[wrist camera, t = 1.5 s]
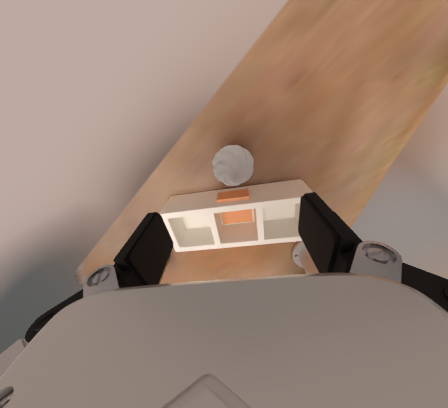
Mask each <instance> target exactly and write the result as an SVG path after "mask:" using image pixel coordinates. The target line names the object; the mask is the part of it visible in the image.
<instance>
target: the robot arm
mask: <svg viewBox="0 0 448 408" xmlns="http://www.w3.org/2000/svg"><path fill="white" fill-rule="evenodd" d="M298 233H299V235H300V237H301V239H302V241H298V242H297V243H296V244H295V246H294V247H293V249H292V253H291V255H292V259H293V261H294V263H295V264H296V265H297V266H299V267H301V268H303V269H304V271H305V273H306V274H292V275H278V276H263V277H248V278H235V279H221V280H207V281H194V282H181V283H169V284H159V282H160V279H161V277H162V274H163V271H164V269H165V266H166V264H167V261H168V259H169V256H170V253H171V251H172V248H173V241H172V239H171V236H170V234H169V232H168V230H167V227H166V225H165V223H164V221H163V218H162V216H161V215H160V214H158V213H157V212H153V213H148V214H147V215H146V216H145V218H144V219H143V220H142V222H141V223H140V224H139V226H138V227H137V229H136V230H135V231H134V233H133V234H132V235H131V237H130V238H129V239H128V241H127V242H126V244H125V245H124V246H123V248H122V249H121V250H120V252H119V253H118V254H117V256H116V257H115V259H114V260H113V261H114V262H115V264H114V265H104V266H102V267H99V268H98V269H96V270H94V271H93V272H92V273H91V274H90V275H89V276H88V277H87V278H86V280H85V281H84V285H83V289H82V290H81V291H79V292H77V293H76V294H74V295H73V296H71V297H69V298H68V299H67V300H65V301H63V302H61V303H60V304H59V305H57V306H55V307H54V308H52V309H51V310H49V311H47V312H46V313H44V314H43V315H41V316H40V317H39V318H37V320H35V322H34V323H33V324H32V325H31V327H30V328H29V329H28V331H27V332H26V335H25V339H24V340H22V339H19V340H18V341H16V342H15V343H14V344H13V345H11V346H10V347H9V348H8V349H7V350H5V351H4V352H3V353H2V354H0V408H448V279H445V278H442V277H440V276H437V275H434V274H432V273H429V272H426V271H424V270H421V269H418V268H416V267H413V266H410V265H408V264H405V263H402V259H401V256H400V255H399V253H398V252H397V251H396V250H394V249H393V248H391V247H389V246H388V245H385V244H383V243H380V242H375V241H364V242H363V241H362V240H361V239H360V238H359V237H358V236H357V235H356V234H355V233H354V232H353V231H352V230H351V229H350V228H349V227H348V226H347V224H346V223H345V222H344V221H343V220H342V219H341V218H340V217H339V216H338V215H337V214H336V213H335V212H333V211H332V210H331V209H330V208H329V207H328V206H327V205H326V203H325V202H324V201H323V200H322V199H321V198H320V197H319V196H318V195H317V194H316V193H315V192H312V193H305V194H304V196H301V200H300V211H299V222H298Z"/></svg>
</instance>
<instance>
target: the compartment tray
mask: <svg viewBox="0 0 448 408" xmlns="http://www.w3.org/2000/svg"><path fill="white" fill-rule="evenodd" d="M312 192H313V191H312V190H311V189H310V188H309V187H308V186H307V185H306V184H305V182H304V181H303V180H302V179H297V180H289V181H282V182H274V183H266V184H259V185H251V186H244V187H236V188H229V189H221V190H213V191H206V192H198V193H191V194H183V195H175V196H171V197H170V198H169V200H168V201H167V203H166V204H165V206H164V208H163V209H162V211H161V212H160V215H161V216H162V218H163V221H164V223H165V225H166V227H167V230H168V232H169V234H170V236H171V239H172V241H173V247H174V249H175V251H176V252H183V251H194V250H205V249H216V248H227V247H239V246H250V245H261V244H272V243H284V242H295V241H302V239H301V237H300V235H299V233H298V222H299V211H300V200H301V196H304V194H305V193H312Z"/></svg>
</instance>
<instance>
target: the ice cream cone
mask: <svg viewBox="0 0 448 408" xmlns="http://www.w3.org/2000/svg"><path fill="white" fill-rule="evenodd" d="M253 162H254V159H253V157H252V156H251V154H250V152H249V151H248V150H246V149H245V148H243V147H241V146H239V145H227V146H225V147H224V148H222V149H221V150H219V151H218V153H216V154H215V156H214V159H213V161H212V164H213V168H214V171H213V174H214V176H215V177H216V178H217V180H218V181H219V182H223V183H224V184H226V185H228V186H239V185H240V184H241V183H244V182H246V181H248V180H249V178H250V177H251V175H252V173H253V172H254V170H253Z"/></svg>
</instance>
